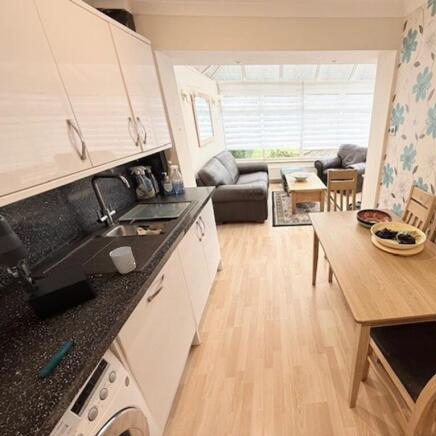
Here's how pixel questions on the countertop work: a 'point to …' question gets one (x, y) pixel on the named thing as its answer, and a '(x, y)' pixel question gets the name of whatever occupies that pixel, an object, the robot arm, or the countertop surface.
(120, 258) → the white cup
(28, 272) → the robot arm
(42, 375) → the teal rod
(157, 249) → the countertop surface
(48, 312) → the bin
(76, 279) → the bin lid
